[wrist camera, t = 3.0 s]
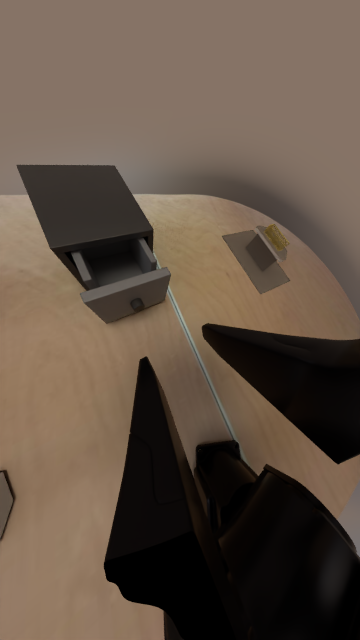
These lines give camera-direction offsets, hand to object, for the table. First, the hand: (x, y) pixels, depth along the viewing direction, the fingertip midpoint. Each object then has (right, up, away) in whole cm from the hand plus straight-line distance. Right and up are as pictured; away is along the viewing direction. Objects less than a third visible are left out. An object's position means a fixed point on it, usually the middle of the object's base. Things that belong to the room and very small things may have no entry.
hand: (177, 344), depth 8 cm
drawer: (-9, +7, +14) cm, 18 cm away
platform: (+20, +18, +26) cm, 37 cm away
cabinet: (-13, +13, +16) cm, 25 cm away
